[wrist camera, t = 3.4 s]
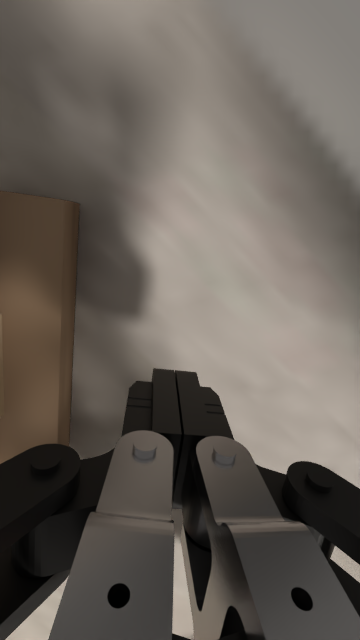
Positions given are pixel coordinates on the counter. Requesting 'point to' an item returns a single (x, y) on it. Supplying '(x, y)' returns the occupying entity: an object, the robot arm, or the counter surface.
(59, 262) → the trap track
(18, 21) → the counter surface
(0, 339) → the maple block
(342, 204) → the counter surface
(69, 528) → the robot arm
